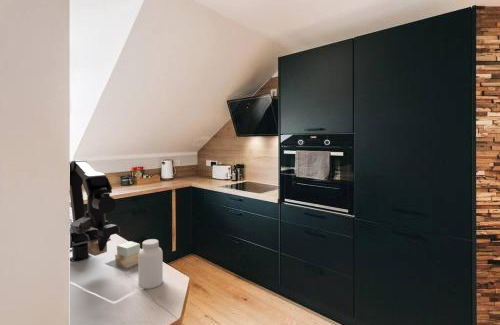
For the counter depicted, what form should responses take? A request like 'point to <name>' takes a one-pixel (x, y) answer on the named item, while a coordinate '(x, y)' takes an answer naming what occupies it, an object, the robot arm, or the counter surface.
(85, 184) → the robot arm
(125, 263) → the tower base
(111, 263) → the slate board
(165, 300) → the counter surface
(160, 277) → the pill bottle
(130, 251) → the tower mid
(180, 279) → the counter surface
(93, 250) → the walnut block
